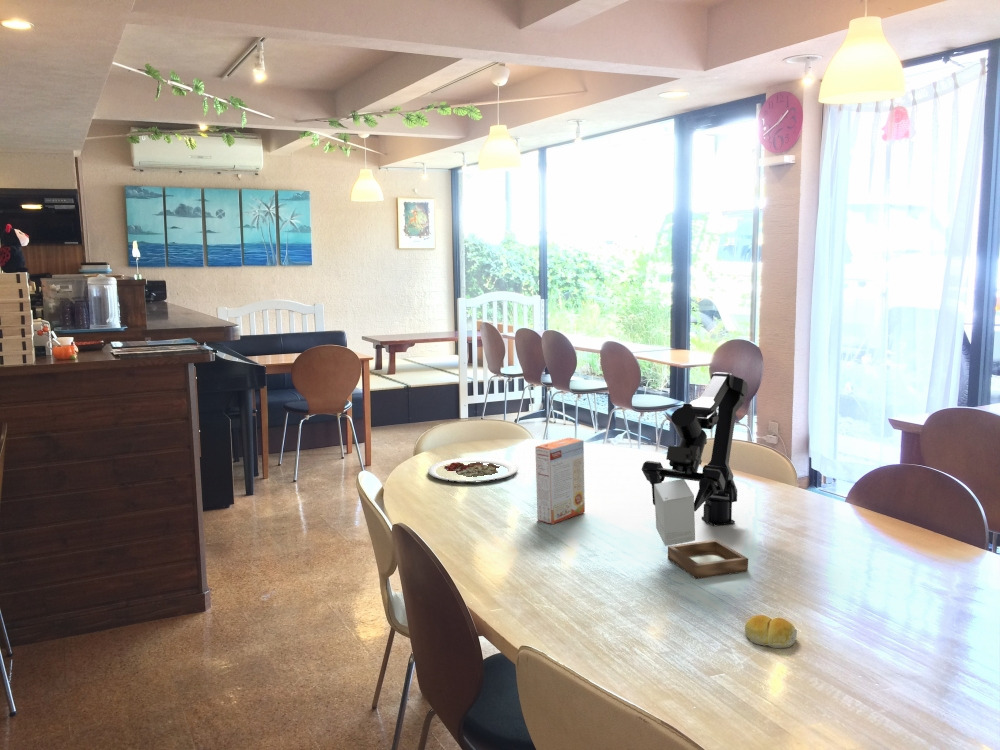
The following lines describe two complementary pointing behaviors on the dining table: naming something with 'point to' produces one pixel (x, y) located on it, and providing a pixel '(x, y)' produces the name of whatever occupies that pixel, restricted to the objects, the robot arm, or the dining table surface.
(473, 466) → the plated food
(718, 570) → the tray
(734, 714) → the dining table surface
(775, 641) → the bread roll
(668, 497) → the supplement box
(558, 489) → the cracker box
